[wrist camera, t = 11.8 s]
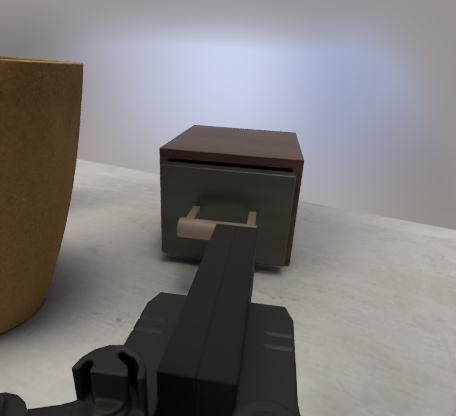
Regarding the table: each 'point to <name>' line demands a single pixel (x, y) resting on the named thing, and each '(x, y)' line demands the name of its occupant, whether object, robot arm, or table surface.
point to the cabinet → (241, 155)
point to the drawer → (225, 205)
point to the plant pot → (34, 176)
